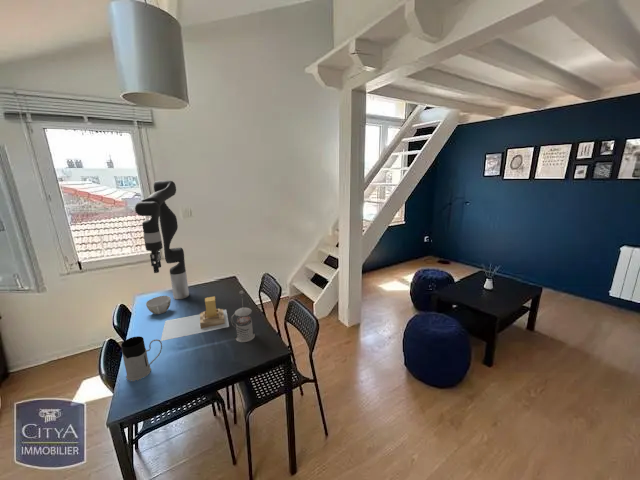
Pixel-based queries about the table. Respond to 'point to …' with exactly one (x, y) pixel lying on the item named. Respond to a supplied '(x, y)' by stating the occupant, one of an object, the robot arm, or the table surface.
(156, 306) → the teacup
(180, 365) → the table surface
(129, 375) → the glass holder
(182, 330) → the white rectangular board
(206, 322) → the beech base slab
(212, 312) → the ochre pillar
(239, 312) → the french press
